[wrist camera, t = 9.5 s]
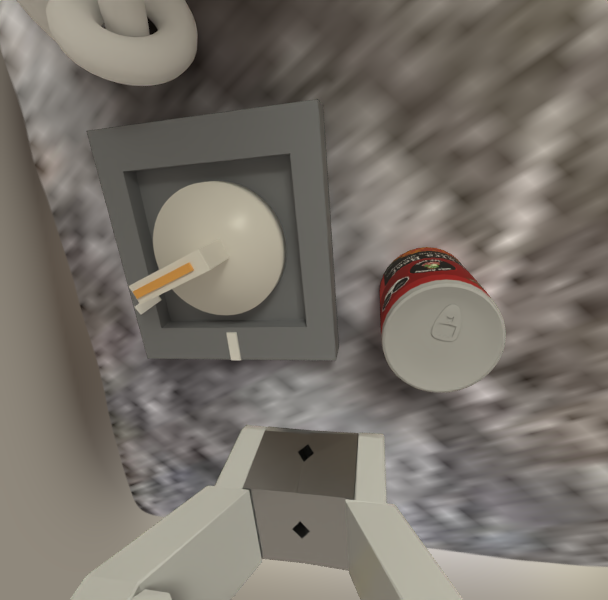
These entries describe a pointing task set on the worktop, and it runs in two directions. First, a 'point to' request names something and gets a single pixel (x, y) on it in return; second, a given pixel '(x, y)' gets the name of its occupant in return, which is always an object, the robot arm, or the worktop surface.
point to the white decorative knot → (121, 36)
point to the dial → (215, 249)
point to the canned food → (438, 322)
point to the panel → (258, 178)
